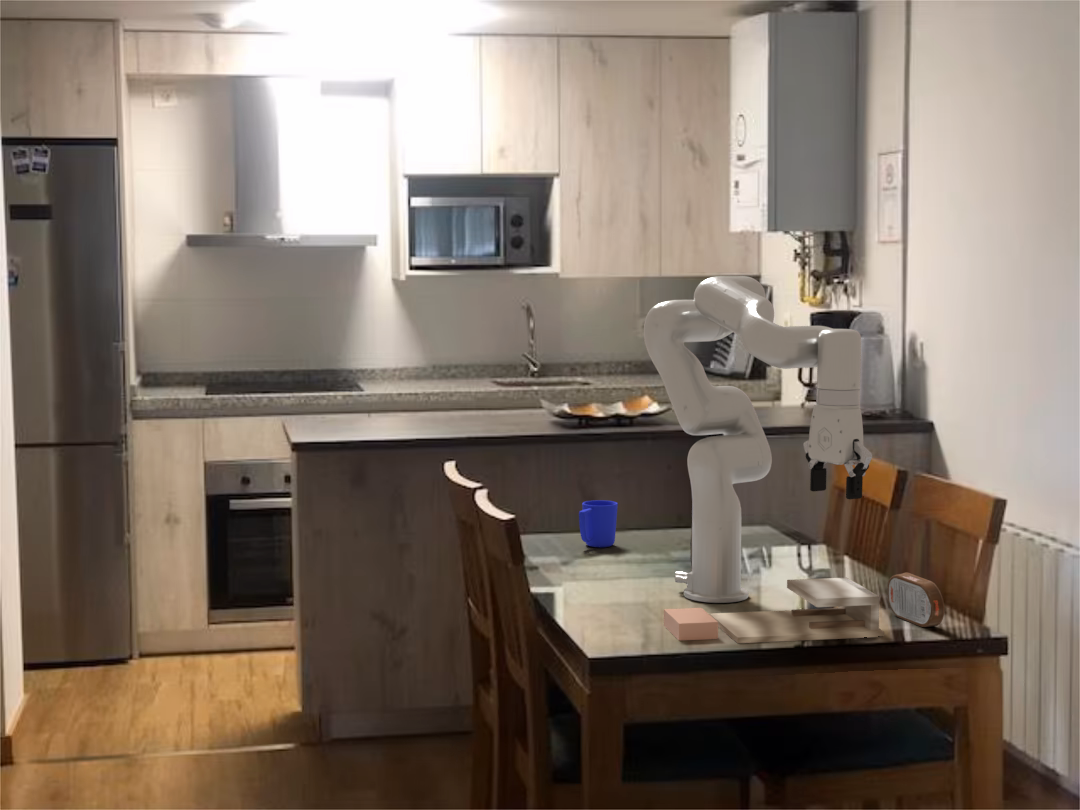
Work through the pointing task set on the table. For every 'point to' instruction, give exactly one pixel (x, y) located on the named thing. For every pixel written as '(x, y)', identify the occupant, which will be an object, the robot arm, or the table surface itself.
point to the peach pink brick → (690, 624)
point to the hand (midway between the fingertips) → (835, 494)
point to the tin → (915, 600)
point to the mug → (598, 522)
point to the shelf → (810, 615)
